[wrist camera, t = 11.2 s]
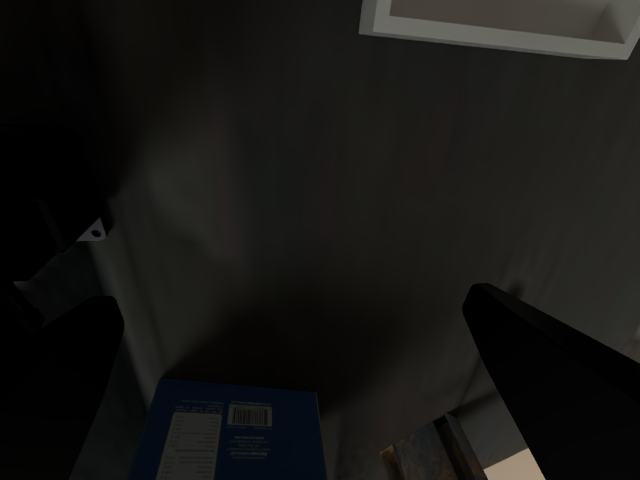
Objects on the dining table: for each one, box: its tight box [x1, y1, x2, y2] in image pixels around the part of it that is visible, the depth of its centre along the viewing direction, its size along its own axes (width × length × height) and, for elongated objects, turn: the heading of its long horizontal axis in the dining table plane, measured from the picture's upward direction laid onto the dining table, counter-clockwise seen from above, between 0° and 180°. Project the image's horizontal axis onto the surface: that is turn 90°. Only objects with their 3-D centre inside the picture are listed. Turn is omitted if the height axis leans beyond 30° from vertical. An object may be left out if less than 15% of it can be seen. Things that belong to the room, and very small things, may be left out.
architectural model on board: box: [380, 413, 488, 480], centre depth 36 cm, size 11×3×10 cm, turn 137°
